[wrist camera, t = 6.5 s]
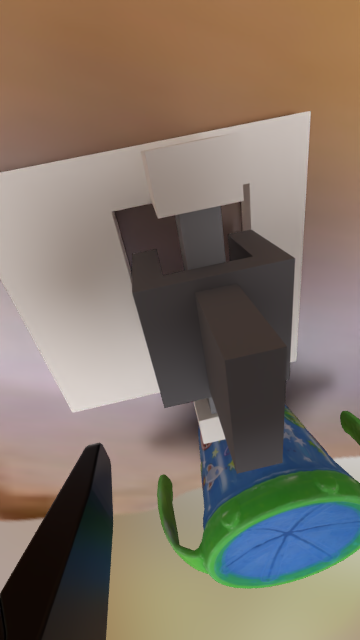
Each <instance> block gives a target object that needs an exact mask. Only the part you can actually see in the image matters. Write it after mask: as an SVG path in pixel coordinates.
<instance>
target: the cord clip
mask: <svg viewBox="0 0 360 640" xmlns="http://www.w3.org/2000/svg"><path fill="white" fill-rule="evenodd" d="M228 244H229V257H230V261H229V262H224V263H219V264H215V265H210V266H205V267H201V268H196V269H191V270H186V271H182V272H177V273H172V274H167V275H163V274H162V270H161V266H160V262H159V258H158V254H157V250H156V249H154V250H149V251H145V252H140V253H135V254H132V294H133V297H134V301H135V305H136V308H137V312H138V315H139V319H140V322H141V326H142V329H143V333H144V337H145V340H146V344H147V347H148V351H149V354H150V358H151V361H152V365H153V369H154V372H155V376H156V379H157V383H158V386H159V390H160V394H161V397H162V401H163V404H164V408H167V407H171V406H175V405H180V404H184V403H189V402H193V401H197V400H202V399H206V398H210V397H212V399H213V402H214V405H215V408H216V411H217V414H218V417H219V420H220V423H221V426H222V429H223V433H224V436H225V439H226V442H227V445H228V448H229V451H230V454H231V457H232V460H233V463H234V467H235V470H236V473H237V474H238V473H242V472H246V471H251V470H255V469H259V468H263V467H267V466H271V465H276V464H280V463H283V438H284V413H285V387H286V380H289V376H290V355H291V335H292V314H293V293H294V273H295V258H294V257H293V256H291V255H290V254H288V253H286V252H285V251H283V250H282V249H280V248H279V247H277V246H276V245H274V244H273V243H271V242H270V241H268V240H267V239H265V238H264V237H262V236H261V235H259V234H258V233H256V232H255V231H253V230H251V229H250V230H246V231H241V232H236V233H231V234H228Z"/></svg>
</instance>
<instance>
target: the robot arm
mask: <svg viewBox="0 0 360 640" xmlns="http://www.w3.org/2000/svg"><path fill="white" fill-rule="evenodd" d="M112 534H113V504H112V478H111V463H110V459H109V457H108V455H107V453H106V451H105V449H104V447H103V445H102V444H101V443H96V444H92V445H88V446H87V447H86V448H85V449H84V451H83V453H82V454H81V456H80V458H79V460H78V461H77V463H76V465H75V466H74V468H73V470H72V471H71V473H70V475H69V477H68V478H67V480H66V482H65V483H64V485H63V487H62V489H61V490H60V492H59V494H58V495H57V497H56V499H55V501H54V502H53V504H52V506H51V507H50V509H49V511H48V512H47V514H46V516H45V518H44V519H43V521H42V523H41V525H40V526H39V528H38V530H37V531H36V533H35V535H34V536H33V538H32V540H31V542H30V543H29V545H28V547H27V549H26V550H25V552H24V553H23V555H22V557H21V559H20V560H19V562H18V564H17V566H16V567H15V569H14V571H13V572H12V574H11V576H10V578H9V579H8V581H7V583H6V585H5V586H4V588H3V590H2V591H1V593H0V640H106V629H107V612H108V597H109V581H110V566H111V550H112Z"/></svg>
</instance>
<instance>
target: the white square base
mask: <svg viewBox="0 0 360 640" xmlns="http://www.w3.org/2000/svg"><path fill="white" fill-rule="evenodd" d="M310 117H311V111H307V112H302V113H297V114H292V115H287V116H282V117H277V118H272V119H267V120H262V121H257V122H252V123H247V124H242V125H237V126H232V127H227V128H222V129H217V130H212V131H207V132H202V133H197V134H192V135H187V136H181V137H176V138H171V139H166V140H161V141H156V142H151V143H146V144H141V145H136V146H131V147H126V148H121V149H116V150H111V151H106V152H101V153H96V154H91V155H86V156H81V157H76V158H71V159H66V160H60V161H55V162H50V163H45V164H40V165H35V166H30V167H25V168H20V169H15V170H10V171H5V172H0V279H1V281H2V283H3V285H4V287H5V289H6V291H7V292H8V294H9V296H10V298H11V300H12V302H13V303H14V305H15V307H16V309H17V311H18V313H19V315H20V316H21V318H22V320H23V322H24V324H25V326H26V328H27V329H28V331H29V333H30V335H31V337H32V339H33V341H34V342H35V344H36V346H37V348H38V350H39V352H40V353H41V355H42V357H43V359H44V361H45V363H46V365H47V366H48V368H49V370H50V372H51V374H52V376H53V378H54V379H55V381H56V383H57V385H58V387H59V389H60V391H61V392H62V394H63V396H64V398H65V400H66V402H67V403H68V405H69V407H70V409H71V411H72V413H73V412H78V411H82V410H86V409H91V408H95V407H99V406H104V405H108V404H112V403H117V402H121V401H126V400H130V399H134V398H139V397H143V396H147V395H152V394H156V393H160V390H159V386H158V383H157V379H156V376H155V372H154V369H153V365H152V361H151V358H150V354H149V351H148V347H147V344H146V340H145V337H144V333H143V329H142V326H141V322H140V319H139V315H138V312H137V308H136V305H135V301H134V297H133V294H132V273H131V270H130V266H129V262H128V259H127V255H126V251H125V248H124V244H123V241H122V237H121V233H120V230H119V226H118V222H117V219H116V215H115V212H114V211H118V210H122V209H127V208H132V207H137V206H142V205H147V204H151V203H152V204H153V207H154V209H155V212H156V214H157V217H158V219H159V218H164V217H169V216H174V215H175V218H176V224H177V230H178V236H179V242H180V247H181V253H182V259H183V265H184V271H186V270H191V269H196V268H201V267H205V266H210V265H215V264H219V263H224V262H226V260H225V248H224V237H223V226H222V215H221V206H222V205H226V204H231V203H236V202H241V210H242V229H243V231H246V230H250V229H251V230H253V231H255V232H256V233H258V234H259V235H261V236H262V237H264V238H265V239H267V240H268V241H270V242H271V243H273V244H274V245H276V246H277V247H279V248H280V249H282V250H283V251H285V252H286V253H288V254H290V255H291V256H293V257H294V258H295V273H294V293H293V314H292V335H291V355H290V363H291V362H295V361H296V359H297V341H298V324H299V307H300V290H301V272H302V255H303V238H304V221H305V203H306V186H307V169H308V152H309V134H310ZM193 402H194V407H195V411H196V415H197V419H198V423H199V427H200V431H201V435H202V439H203V443H204V444H207V443H211V442H215V441H220V440H224V439H225V436H224V433H223V429H222V426H221V423H220V420H219V417H218V414H217V411H216V408H215V405H214V402H213V399H212V397H210V398H206V399H202V400H197V401H193Z"/></svg>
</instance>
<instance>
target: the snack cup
mask: <svg viewBox="0 0 360 640" xmlns="http://www.w3.org/2000/svg"><path fill="white" fill-rule="evenodd" d="M340 420H341V425H342V428H343V429H344V431H345V432H346V433H348V434H349V435H350V436H351V437H352V438H353V439H354V440H355V441H356V442H357V443H358V444H359V445H360V420H359V419H358V418H357V417H356V416H354V415H353V414H352V413H350V412H348V411H342V412H341V415H340ZM198 436H199V445H200V446H199V450H200V460H201V478H202V488H203V497H204V508H205V510H204V517H203V527H204V533H203V539H202V542H201V544H200V546H199V548H198V549H196V550H195V551H194V550H191V549H188V548H185V547H182V546H180V545H179V539H178V532H177V527H176V521H175V516H174V511H173V505H172V500H173V491H172V482H171V481H170V479H169V478H168V477H167V476H166V475H161V476H160V478H159V481H158V491H157V497H158V509H159V514H160V519H161V524H162V527H163V530H164V533H165V535H166V537H167V539H168V541H169V543H170V544H171V546H172V547H173V549H174V550H175V552H176V553H177V554H178V555H179V556H180V557H181V558H182V559H183V560H184V561H185V562H186V563H188V564H189V565H190V566H192V567H193V568H195V569H197V570H198V571H201V572H204V573H207V574H209V575H210V576H211V577H212V578H213V579H214V580H215V581H217V582H219V583H221V584H223V585H226V586H229V587H234V588H264V587H270V586H276V585H281V584H285V583H289V582H293V581H296V580H300V579H303V578H306V577H308V576H310V575H314V574H316V573H319V572H321V571H323V570H325V569H327V568H329V567H331V566H333V565H335V564H337V563H339V562H341V561H343V560H344V559H346V558H347V557H349V556H350V555H352V554H353V553H355V552H356V551H357V550H359V549H360V483H359V482H358V481H356V480H355V479H354V478H353V477H352V476H350V475H349V474H348V473H347V472H346V471H345V470H344V469H343V468H342V467H340V466H339V465H338V464H337V463H336V462H335V461H334V460H333V459H332V458H331V457H330V456H329V455H328V453H327V452H326V451H325V449H324V448H323V447H322V446H321V445H320V444H319V442H318V441H317V440H316V439H315V438H314V437H313V436H312V435H311V434H310V433H309V431H307V430H306V428H305V427H304V425H303V424H302V423H301V422H300V421H299V420H298V418H297V417H296V416H295V415H294V414H293V413H292V412H291V411H290V409H289V408H288V407H287V406H286V405H285V413H284V438H283V463H280V464H276V465H271V466H267V467H263V468H259V469H255V470H251V471H246V472H242V473H238V474H237V473H236V470H235V467H234V463H233V460H232V457H231V454H230V451H229V448H228V445H227V442H226V439H224V440H220V441H215V442H211V443H207V444H204V443H203V439H202V435H201V431H200V427H199V429H198Z"/></svg>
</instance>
